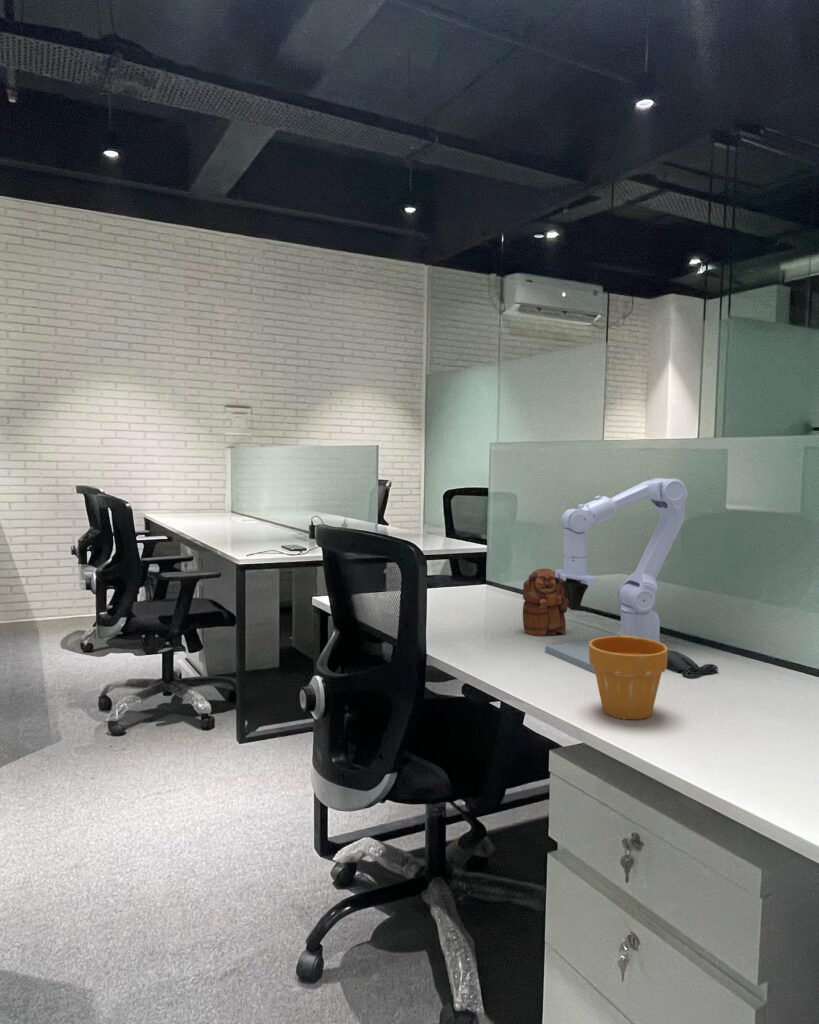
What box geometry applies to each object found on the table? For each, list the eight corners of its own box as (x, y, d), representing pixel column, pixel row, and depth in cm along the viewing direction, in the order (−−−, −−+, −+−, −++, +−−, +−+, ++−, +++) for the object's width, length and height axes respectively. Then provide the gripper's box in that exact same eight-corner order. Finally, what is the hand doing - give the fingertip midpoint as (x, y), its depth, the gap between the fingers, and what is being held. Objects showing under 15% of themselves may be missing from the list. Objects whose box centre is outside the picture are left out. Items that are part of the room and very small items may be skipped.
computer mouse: (670, 659, 173) (670, 643, 173) (722, 674, 161) (722, 658, 160) (640, 665, 169) (640, 649, 168) (690, 681, 156) (691, 664, 156)
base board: (597, 645, 185) (597, 631, 185) (664, 670, 163) (664, 654, 163) (545, 651, 179) (545, 637, 178) (607, 678, 157) (607, 662, 156)
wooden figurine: (528, 637, 194) (529, 571, 193) (521, 631, 200) (521, 567, 199) (570, 635, 196) (570, 570, 195) (561, 629, 202) (561, 566, 201)
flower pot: (621, 730, 126) (623, 658, 125) (573, 705, 139) (573, 640, 138) (683, 718, 132) (684, 649, 131) (630, 696, 145) (631, 632, 144)
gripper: (545, 553, 186) (545, 605, 187) (579, 560, 173) (578, 616, 174) (568, 552, 189) (567, 603, 190) (603, 559, 175) (602, 613, 176)
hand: (574, 609), depth 182 cm, fingers closed
